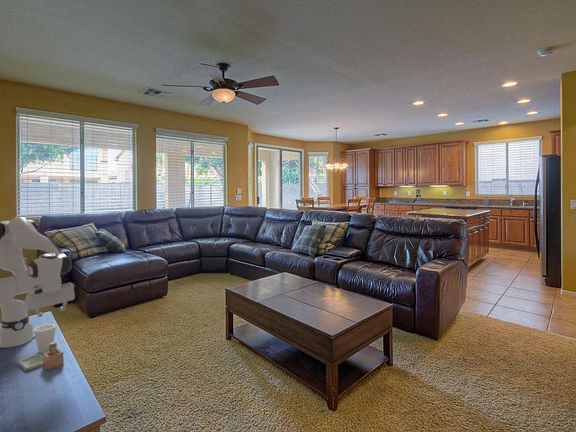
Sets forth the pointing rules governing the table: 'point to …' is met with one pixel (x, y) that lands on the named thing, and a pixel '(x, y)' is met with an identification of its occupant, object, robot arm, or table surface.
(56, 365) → the brown hollow block
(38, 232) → the robot arm
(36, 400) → the table surface
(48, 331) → the foam cup
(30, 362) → the tray
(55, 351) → the dowel
